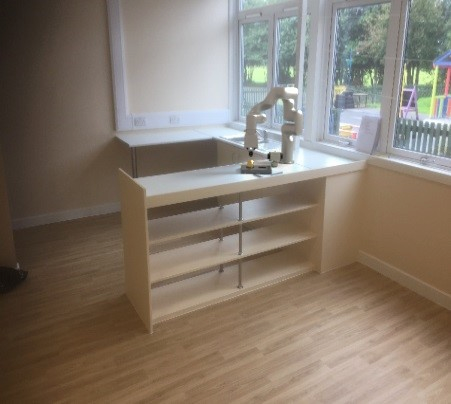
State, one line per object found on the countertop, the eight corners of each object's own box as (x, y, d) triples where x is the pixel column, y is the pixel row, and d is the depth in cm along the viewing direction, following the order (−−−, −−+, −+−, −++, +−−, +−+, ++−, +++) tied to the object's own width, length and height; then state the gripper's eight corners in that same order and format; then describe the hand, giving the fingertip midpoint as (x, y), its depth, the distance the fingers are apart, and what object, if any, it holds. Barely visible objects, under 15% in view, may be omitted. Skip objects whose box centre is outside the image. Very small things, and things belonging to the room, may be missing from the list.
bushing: (246, 170, 313) (247, 159, 311) (252, 170, 313) (253, 160, 311) (246, 171, 309) (247, 161, 306) (252, 172, 309) (253, 161, 306)
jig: (240, 168, 319) (241, 164, 318) (270, 169, 318) (270, 165, 317) (240, 173, 303) (241, 169, 303) (271, 174, 303) (271, 170, 302)
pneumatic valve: (266, 165, 330) (267, 150, 326) (281, 165, 330) (282, 150, 327) (267, 167, 325) (268, 151, 321) (282, 167, 325) (283, 151, 322)
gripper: (240, 132, 299) (240, 157, 305) (261, 132, 299) (261, 157, 304) (240, 130, 306) (240, 155, 312) (261, 130, 306) (260, 155, 311)
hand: (250, 156), depth 308 cm, fingers closed
